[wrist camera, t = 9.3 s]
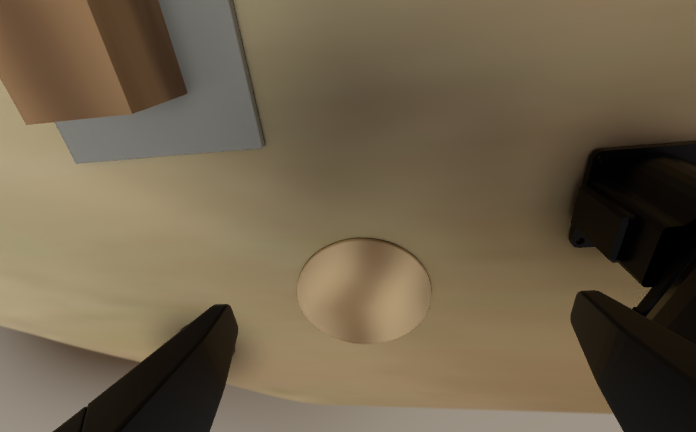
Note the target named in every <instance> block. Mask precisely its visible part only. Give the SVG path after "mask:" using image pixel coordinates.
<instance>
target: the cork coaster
mask: <svg viewBox="0 0 696 432" xmlns="http://www.w3.org/2000/svg"><path fill="white" fill-rule="evenodd" d="M297 297H298V302H299V305H300V307H301V309H302V311H303V313H304V315H305V316H306V318H307V319H308V320H309V321H310V322H311V323H312V324H313V325H314V326H315V327H316V328H318V329H319V330H321V331H322V332H324V333H325V334H327V335H329V336H331V337H334V338H336V339H339V340H342V341H346V342H351V343H358V344H375V343H382V342H387V341H390V340H394V339H396V338H399V337H401V336H403V335H405V334H407V333H408V332H410V331H411V330H413V329H414V328H415V327H416V326H417V325H418V324H419V323H420V322H421V321H422V320H423V318H424V317H425V315H426V314H427V312H428V310H429V307H430V303H431V297H432V292H431V285H430V281H429V277H428V275H427V273H426V270H425V269H424V267H423V266H422V264H421V263H420V262H419V261H418V260H417V259H416V258H415V257H414V256H413V255H412V254H411V253H409V252H408V251H406V250H405V249H403V248H401V247H399V246H397V245H395V244H392V243H389V242H386V241H382V240H378V239H369V238H356V239H347V240H343V241H339V242H336V243H333V244H331V245H329V246H327V247H325V248H323V249H321V250H320V251H318V252H317V253H316V254H314V255H313V256H312V257H311V258H310V259H309V261H308V262H307V263H306V264H305V266H304V268H303V269H302V272H301V274H300V277H299V280H298V285H297Z"/></svg>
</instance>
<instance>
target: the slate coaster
mask: <svg viewBox="0 0 696 432" xmlns="http://www.w3.org/2000/svg"><path fill="white" fill-rule="evenodd" d="M158 1H159V4H160V7H161V11H162V14H163V17H164V20H165V23H166V26H167V30H168V33H169V36H170V39H171V42H172V45H173V48H174V52H175V55H176V58H177V61H178V64H179V67H180V71H181V74H182V77H183V80H184V83H185V86H186V90H187V93H188V94H186V95H183V96H180V97H177V98H175V99H172V100H169V101H166V102H164V103H161V104H158V105H156V106H153V107H150V108H147V109H145V110H142V111H139V112H137V113H134V114H128V115H118V116H108V117H99V118H89V119H79V120H69V121H59V122H55V124H56V126H57V128H58V130H59V132H60V134H61V136H62V138H63V139H64V141H65V143H66V145H67V147H68V149H69V151H70V153H71V155H72V157H73V159H74V161H75V163H76V164H79V163H91V162H103V161H115V160H127V159H139V158H151V157H163V156H175V155H187V154H199V153H211V152H223V151H235V150H247V149H259V148H263V147H264V146H265V143H264V139H263V134H262V130H261V125H260V121H259V116H258V112H257V107H256V103H255V99H254V94H253V90H252V85H251V81H250V76H249V72H248V67H247V63H246V59H245V54H244V50H243V45H242V41H241V36H240V32H239V27H238V23H237V19H236V14H235V10H234V5H233V1H232V0H158Z"/></svg>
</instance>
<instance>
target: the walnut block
mask: <svg viewBox="0 0 696 432" xmlns="http://www.w3.org/2000/svg"><path fill="white" fill-rule="evenodd" d="M0 79H1V80H2V82H3V84H4V86H5V88H6V89H7V91H8V93H9V95H10V97H11V98H12V100H13V102H14V104H15V105H16V107H17V109H18V111H19V113H20V114H21V116H22V118H23V120H24V122H25V123H26V125H30V124H40V123H49V122H59V121H69V120H79V119H89V118H99V117H108V116H118V115H128V114H134V113H137V112H139V111H142V110H145V109H147V108H150V107H153V106H156V105H158V104H161V103H164V102H166V101H169V100H172V99H175V98H177V97H180V96H183V95H186V94H188V93H187V90H186V86H185V83H184V80H183V77H182V74H181V71H180V67H179V64H178V61H177V58H176V55H175V52H174V48H173V45H172V42H171V39H170V36H169V33H168V30H167V26H166V23H165V20H164V17H163V14H162V11H161V7H160V4H159V1H158V0H0Z"/></svg>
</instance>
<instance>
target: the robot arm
mask: <svg viewBox="0 0 696 432" xmlns="http://www.w3.org/2000/svg"><path fill="white" fill-rule="evenodd" d="M601 155H603V158H602V159H601V160H600V161H598V158H599V157H600V156H601ZM571 222H572V228H571V232H570V236H569V241H570V243H571V244H572V245H573V246H574V247H577V248H582V247H596V248H597V249H598V250H599V251H600V252H601V253H602V254H604V255H605V256H606V257H607V258H608V259H609V260H610V261H611V262H613V263H615V262H618V263H619V264H620V265H621V266H622V267H623V268H624V269H625V270H626V271H627V272H628V273H630V274H631V275H632V276H633V277H634V278H635V279H636V280H637V281H638V282H639V283H640V284H641V285H642V286H643V287H652V288H651V289H650V291H649V292H648V293H647V295H646V296H645V297H644V298H643V300H642V301H641V302H640V303H639V305H638V306H637V307H633V308H632V309H630V308H628V307H627V306H625V305H623V304H621V303H619V302H618V301H616V300H614V299H612V298H610V297H609V296H607V295H605V294H603V293H601V292H599V291H595V290H592V291H580V292H578V293H577V295H576V298H575V301H574V305H573V308H572V312H571V324H572V326H573V329H574V331H575V333H576V336H577V338H578V340H579V343H580V345H581V348H582V350H583V352H584V355H585V357H586V359H587V362H588V364H589V366H590V369H591V371H592V373H593V375H594V378H595V380H596V382H597V384H598V386H599V388H600V390H601V392H602V394H603V395H604V397H605V399H606V401H607V403H608V404H609V406H610V408H611V410H612V412H613V413H614V415H615V417H616V419H617V420H618V422H619V424H620V426H621V427H622V430H623V431H624V432H696V141H692V142H679V143H666V144H653V145H640V146H626V147H613V148H600V149H597V150H595V151H593V152H592V153H591V154H590V157H589V160H588V164H587V168H586V172H585V176H584V180H583V184H582V186H581V187H580V189H579V193H578V197H577V201H576V205H575V209H574V213H573V217H572V221H571ZM579 238H581V239H580V240H579V241H577V239H579ZM237 335H238V325H237V322H236V319H235V317H234V314H233V311H232V308H231V306H230V305H228V304H216V305H213V306H212V307H210V308H209V309H208V310H207V311H205V312H204V313H203V314H201V315H200V316H199V317H198V318H196V319H195V320H194V321H193V322H191V323H190V324H189V325H188V326H186V327H185V328H184V329H183V330H181V331H180V332H179V333H177V334H176V335H175V336H174V337H172V338H171V339H170V340H169V341H167V342H166V343H165V344H164V345H162V346H161V347H160V348H159V349H157V350H156V351H155V352H153V353H152V354H151V355H150V356H148V357H147V358H146V359H145V360H143V361H142V362H141V363H140V364H139V365H137V366H136V367H135V368H133V369H132V370H131V371H129V372H128V373H127V374H126V375H124V376H123V377H122V378H121V379H119V380H118V381H117V382H116V383H115V384H113V385H112V386H110V387H109V388H108V389H107V390H106V391H104V392H103V393H102V394H101V395H99V396H98V397H97V398H95V399H94V400H93V401H92V402H90V403H89V404H88V406H87V407H84V408H83V409H81V410H80V411H79V412H78V413H76V414H75V415H74V416H72V418H70V419H69V420H67V421H66V422H65V423H63V424H62V425H61V426H60V427H58V428H57V429H56V430H54V431H53V432H210V429H211V426H212V423H213V420H214V418H215V415H216V412H217V409H218V406H219V403H220V400H221V398H222V394H223V391H224V388H225V385H226V381H227V377H228V373H229V368H230V364H231V360H232V356H233V352H234V347H235V343H236V339H237Z"/></svg>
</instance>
